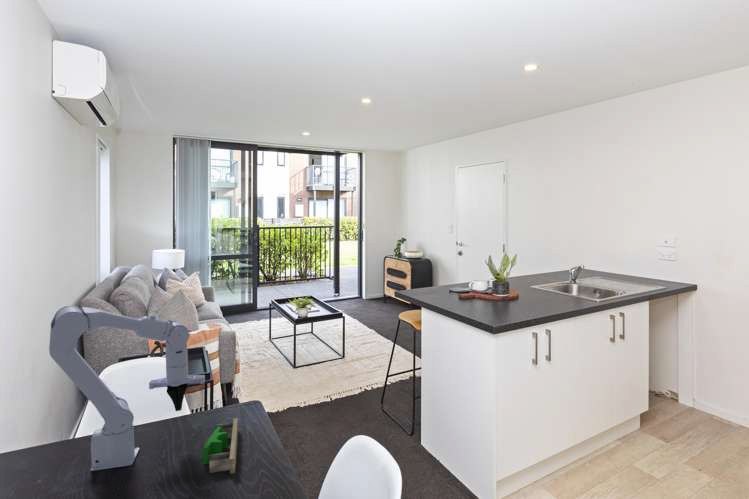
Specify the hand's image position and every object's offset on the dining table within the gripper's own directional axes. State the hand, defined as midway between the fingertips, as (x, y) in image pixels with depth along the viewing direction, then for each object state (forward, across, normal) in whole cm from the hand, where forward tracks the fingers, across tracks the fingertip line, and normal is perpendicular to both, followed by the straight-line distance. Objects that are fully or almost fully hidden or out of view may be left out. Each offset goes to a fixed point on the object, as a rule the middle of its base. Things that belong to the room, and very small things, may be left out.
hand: (178, 409), depth 120 cm
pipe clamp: (+10, +11, -10) cm, 18 cm away
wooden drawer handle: (+9, +13, -10) cm, 19 cm away
